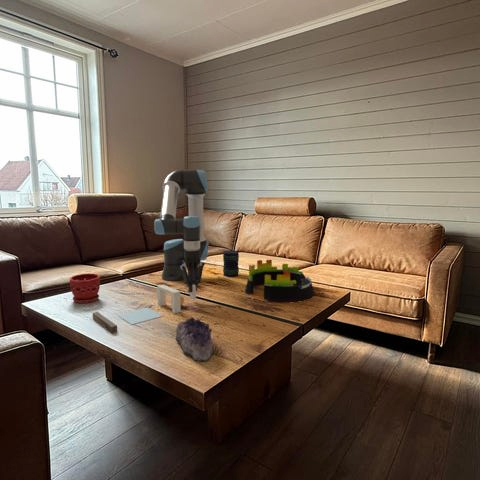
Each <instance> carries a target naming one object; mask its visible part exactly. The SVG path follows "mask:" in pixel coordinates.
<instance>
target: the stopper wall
mask: <svg viewBox="0 0 480 480" xmlns="http://www.w3.org/2000/svg"><path fill="white" fill-rule="evenodd" d="M92 320H94V321H95V322H97V323H98V324H100V326H102V327H103V328H105V330H107V331H108V332H109V333H111V334H114V333H115V334H116V333H118V325H117V324H115V323H114V322H113V321H112V320H110V319H109V318H108V317H106V316H105V315H103V314H102V313H100V312H99V311H94V312H92Z"/></svg>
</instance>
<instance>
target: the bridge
mask: <svg viewBox="0 0 480 480" xmlns="http://www.w3.org/2000/svg"><path fill="white" fill-rule="evenodd" d="M167 294H169V295H171V308H172V310H171V312H172V313H173V314H178V313H181V309H182V308H181V306H180V295H181V291H180V290H178V289H175V288H172V287H170V286H167V285H165V284H160V285H157V305H158V306H159V307H162V306H166V305H167V300H166V299H167V298H166V297H167Z"/></svg>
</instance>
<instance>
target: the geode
mask: <svg viewBox="0 0 480 480" xmlns="http://www.w3.org/2000/svg"><path fill="white" fill-rule="evenodd" d="M212 330H213V328H210V324H209V323H206V322H203V321H201V320H200V319H199V318H194V317H190V318H188V319H187V320H186V321H179V323H178V324H177V326H176V329H175V341H176V342H177V343H178V344H179V345H180V348H181V349H182V352H183V354H184V355H189V356H191V358H192V360H193V361H194V362H199V363H207V362H208V361H209V360H210V359H211V358H212V356H213V354H214V348H213V342H212V341H213V340H212V336H211V335H212Z"/></svg>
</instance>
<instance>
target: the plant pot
mask: <svg viewBox="0 0 480 480" xmlns="http://www.w3.org/2000/svg"><path fill="white" fill-rule="evenodd" d="M69 287H70V289H71V293H72V295H73V297H72V301H73V302H75V303H77V304H88V303H93V302H95V301H97V300H98V299H99V298H100V294H99V291H100V287H101V276H100V275H99V274H97V273H80V274H76V275H73V276H71V277H69Z"/></svg>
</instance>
